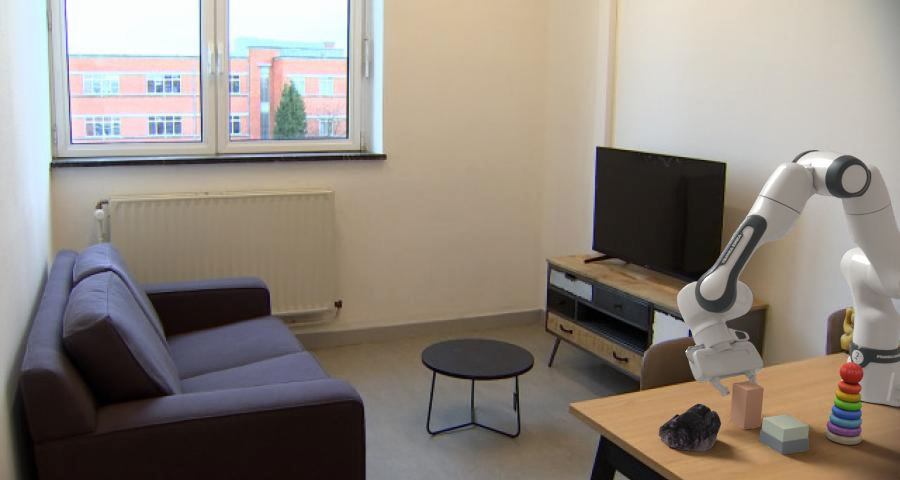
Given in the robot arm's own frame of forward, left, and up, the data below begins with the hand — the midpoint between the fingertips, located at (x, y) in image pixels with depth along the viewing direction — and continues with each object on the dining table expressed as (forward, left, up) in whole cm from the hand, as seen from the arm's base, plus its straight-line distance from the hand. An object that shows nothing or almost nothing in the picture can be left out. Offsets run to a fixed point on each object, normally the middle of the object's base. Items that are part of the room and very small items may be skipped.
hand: (740, 392), depth 213 cm
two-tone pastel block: (0, +15, -8) cm, 17 cm away
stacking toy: (-16, +17, -8) cm, 25 cm away
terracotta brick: (0, +2, -8) cm, 8 cm away
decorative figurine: (-71, -31, -8) cm, 78 cm away
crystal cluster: (+19, +5, -8) cm, 21 cm away
